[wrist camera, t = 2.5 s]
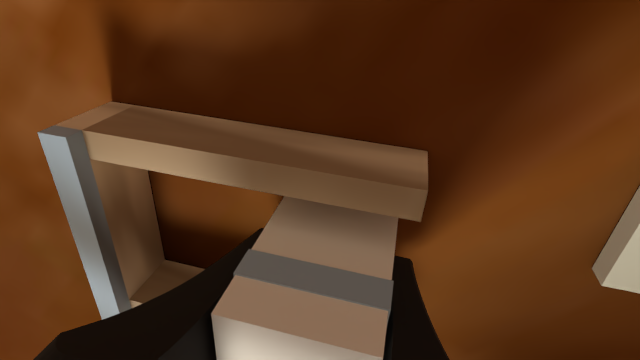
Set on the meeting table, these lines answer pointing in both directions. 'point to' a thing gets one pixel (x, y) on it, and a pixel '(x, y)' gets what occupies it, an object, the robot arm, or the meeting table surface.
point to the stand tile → (622, 252)
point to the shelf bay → (208, 165)
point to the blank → (310, 287)
